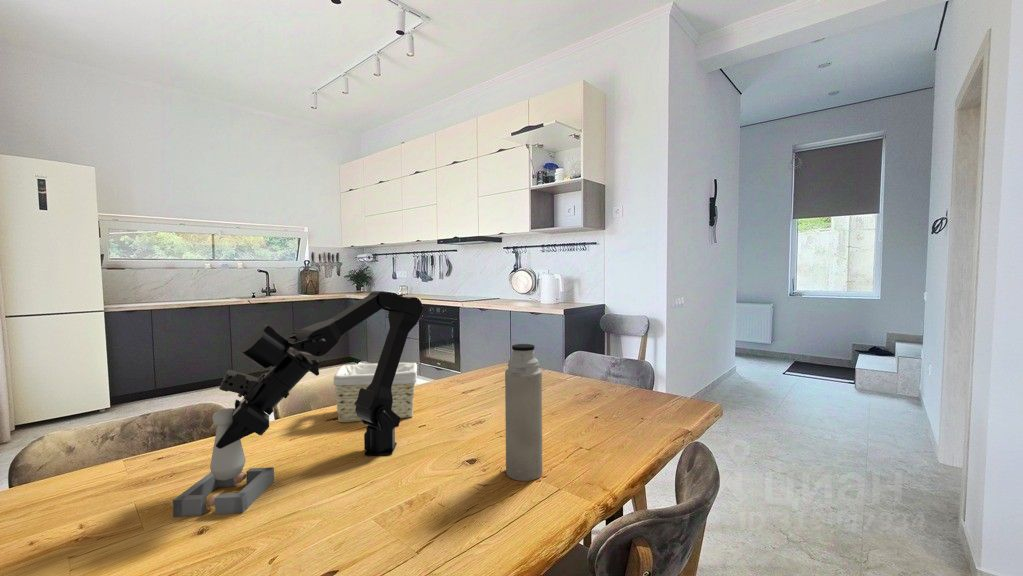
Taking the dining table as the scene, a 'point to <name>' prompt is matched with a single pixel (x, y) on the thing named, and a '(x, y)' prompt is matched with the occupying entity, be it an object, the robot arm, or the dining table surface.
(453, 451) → the dining table surface
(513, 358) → the thermos bottle
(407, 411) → the storage basket
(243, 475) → the plunger right
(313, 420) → the dining table surface
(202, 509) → the grey square frame
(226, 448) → the salt shaker
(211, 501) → the plunger left
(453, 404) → the dining table surface
